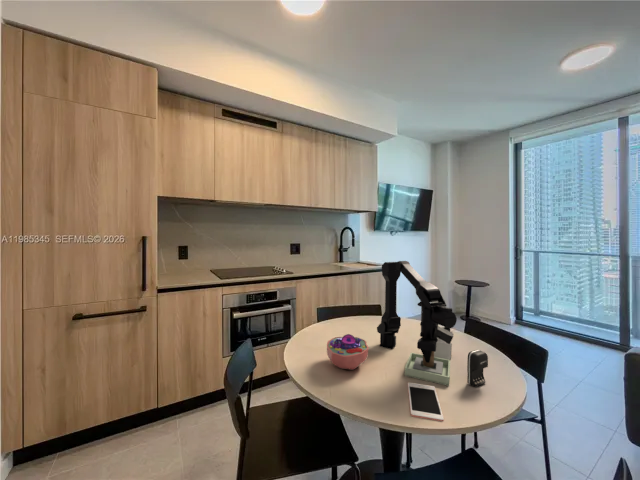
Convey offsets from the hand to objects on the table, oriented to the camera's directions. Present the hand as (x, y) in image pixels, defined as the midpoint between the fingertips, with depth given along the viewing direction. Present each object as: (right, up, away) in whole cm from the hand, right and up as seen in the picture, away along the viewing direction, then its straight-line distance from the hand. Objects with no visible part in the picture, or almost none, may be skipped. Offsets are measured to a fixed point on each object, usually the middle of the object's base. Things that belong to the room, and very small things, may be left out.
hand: (428, 360), depth 106 cm
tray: (0, -4, 0) cm, 4 cm away
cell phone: (-9, -5, -19) cm, 21 cm away
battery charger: (+14, -5, -9) cm, 17 cm away
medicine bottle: (+11, -4, +14) cm, 18 cm away
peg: (0, -2, 0) cm, 2 cm away
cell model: (-31, -4, +5) cm, 31 cm away
